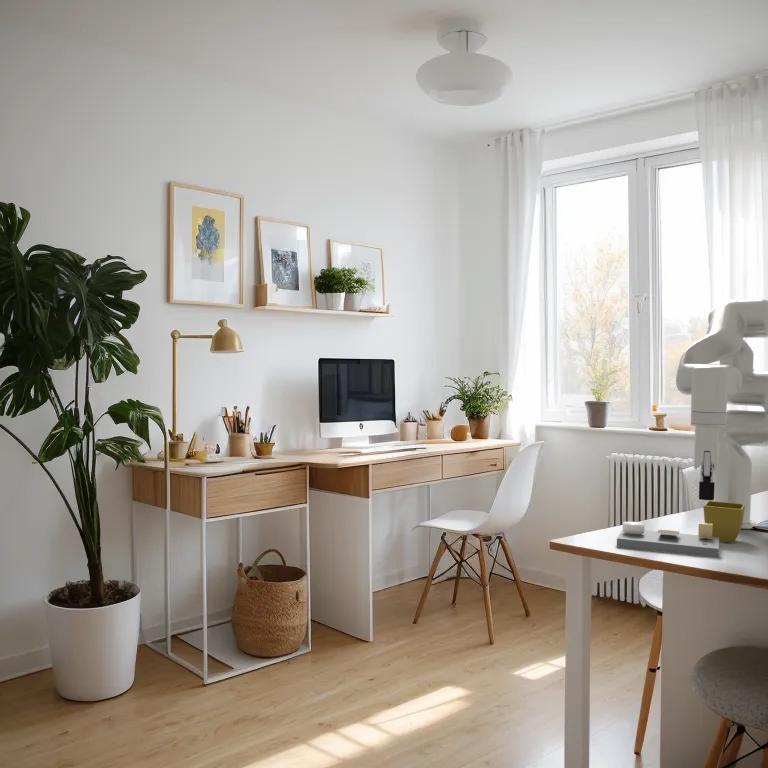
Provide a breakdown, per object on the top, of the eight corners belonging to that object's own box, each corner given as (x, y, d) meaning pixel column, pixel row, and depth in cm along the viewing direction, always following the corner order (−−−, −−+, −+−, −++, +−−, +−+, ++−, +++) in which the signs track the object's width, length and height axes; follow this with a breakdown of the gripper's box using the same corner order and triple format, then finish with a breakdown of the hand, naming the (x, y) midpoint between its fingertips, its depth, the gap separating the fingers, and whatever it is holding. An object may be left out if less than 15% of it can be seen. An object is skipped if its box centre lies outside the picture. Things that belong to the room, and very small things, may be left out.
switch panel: (623, 535, 194) (623, 525, 194) (718, 545, 185) (719, 534, 185) (616, 546, 181) (616, 535, 181) (718, 557, 172) (719, 546, 172)
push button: (623, 529, 190) (624, 520, 190) (645, 531, 188) (645, 522, 188) (621, 532, 185) (621, 524, 185) (643, 534, 183) (643, 526, 183)
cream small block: (698, 535, 184) (698, 522, 184) (712, 537, 183) (712, 523, 183) (698, 537, 182) (698, 523, 182) (712, 538, 181) (712, 525, 181)
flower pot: (741, 546, 185) (742, 508, 185) (702, 541, 189) (703, 505, 189) (744, 539, 193) (745, 504, 193) (706, 535, 197) (707, 500, 197)
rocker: (659, 531, 187) (659, 528, 187) (679, 533, 185) (679, 530, 185) (657, 533, 181) (658, 529, 181) (677, 535, 179) (678, 531, 180)
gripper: (691, 416, 184) (690, 492, 185) (689, 421, 171) (687, 503, 171) (726, 417, 181) (724, 495, 182) (726, 422, 168) (724, 506, 168)
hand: (706, 499), depth 177 cm, fingers closed
